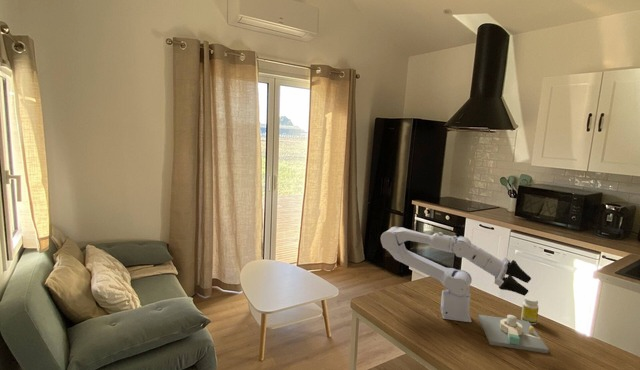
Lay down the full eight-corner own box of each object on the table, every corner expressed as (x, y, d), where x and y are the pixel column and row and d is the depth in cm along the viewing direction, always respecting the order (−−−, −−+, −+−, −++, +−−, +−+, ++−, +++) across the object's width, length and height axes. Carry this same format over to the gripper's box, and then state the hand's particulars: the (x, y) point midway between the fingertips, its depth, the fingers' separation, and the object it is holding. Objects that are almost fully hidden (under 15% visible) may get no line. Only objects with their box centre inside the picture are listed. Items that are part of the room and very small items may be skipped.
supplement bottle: (539, 325, 113) (541, 302, 112) (523, 323, 114) (526, 301, 113) (533, 318, 118) (535, 296, 117) (518, 316, 119) (521, 294, 118)
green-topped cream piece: (499, 322, 112) (499, 317, 112) (519, 327, 109) (520, 321, 109) (502, 341, 102) (503, 335, 101) (525, 346, 99) (526, 340, 99)
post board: (490, 344, 102) (491, 326, 101) (478, 317, 118) (479, 301, 117) (548, 353, 99) (550, 334, 98) (528, 324, 114) (530, 308, 113)
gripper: (488, 264, 104) (532, 290, 99) (497, 244, 115) (537, 267, 109) (477, 279, 108) (519, 305, 102) (486, 258, 119) (525, 281, 113)
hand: (528, 286), depth 106 cm, fingers open, 7 cm apart
